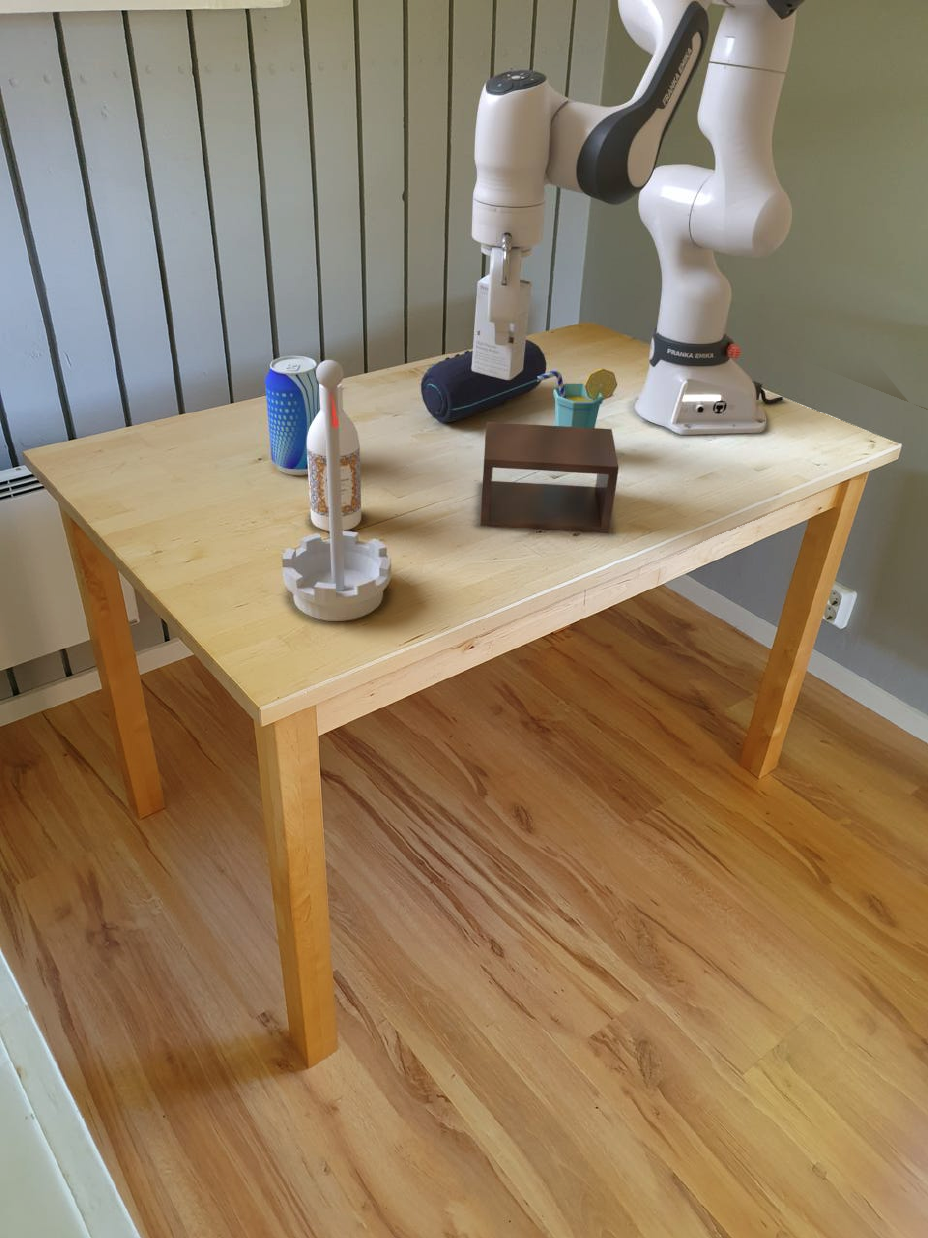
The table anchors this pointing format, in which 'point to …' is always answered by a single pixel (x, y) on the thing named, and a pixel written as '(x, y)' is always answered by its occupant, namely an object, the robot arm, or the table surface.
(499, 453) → the shelf
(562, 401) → the cup
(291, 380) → the beer can
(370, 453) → the table surface
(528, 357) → the portable speaker
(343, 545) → the flag stand
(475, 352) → the cosmetic box
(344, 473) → the bath foam
